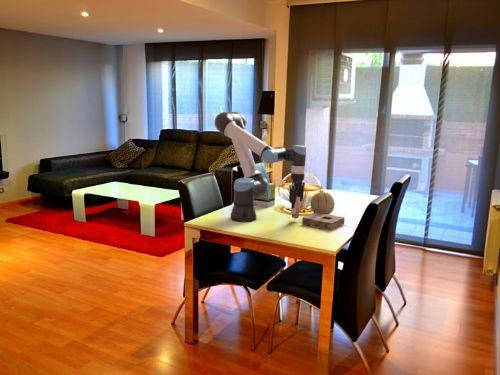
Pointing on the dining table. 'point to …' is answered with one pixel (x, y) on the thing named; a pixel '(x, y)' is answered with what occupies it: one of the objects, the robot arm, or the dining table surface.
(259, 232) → the dining table surface
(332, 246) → the dining table surface
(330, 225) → the socket block
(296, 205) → the peg
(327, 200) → the cantaloupe
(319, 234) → the dining table surface
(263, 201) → the tea box
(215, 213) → the dining table surface
